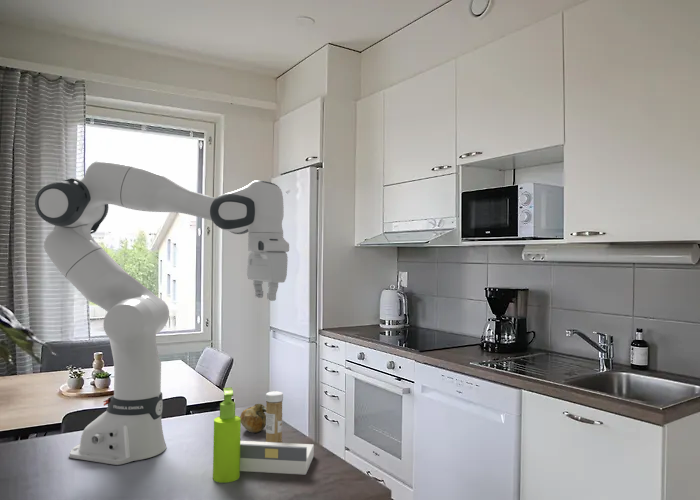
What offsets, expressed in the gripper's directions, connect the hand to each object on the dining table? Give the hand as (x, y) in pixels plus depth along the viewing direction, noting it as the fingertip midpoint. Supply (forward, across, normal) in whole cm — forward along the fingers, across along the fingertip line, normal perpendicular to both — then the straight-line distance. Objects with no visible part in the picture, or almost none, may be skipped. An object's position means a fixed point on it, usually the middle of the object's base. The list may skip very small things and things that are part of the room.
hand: (265, 299), depth 134 cm
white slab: (+39, +7, -1) cm, 40 cm away
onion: (+39, -17, +3) cm, 43 cm away
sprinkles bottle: (+39, -5, +5) cm, 40 cm away
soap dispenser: (+39, +11, -12) cm, 42 cm away
